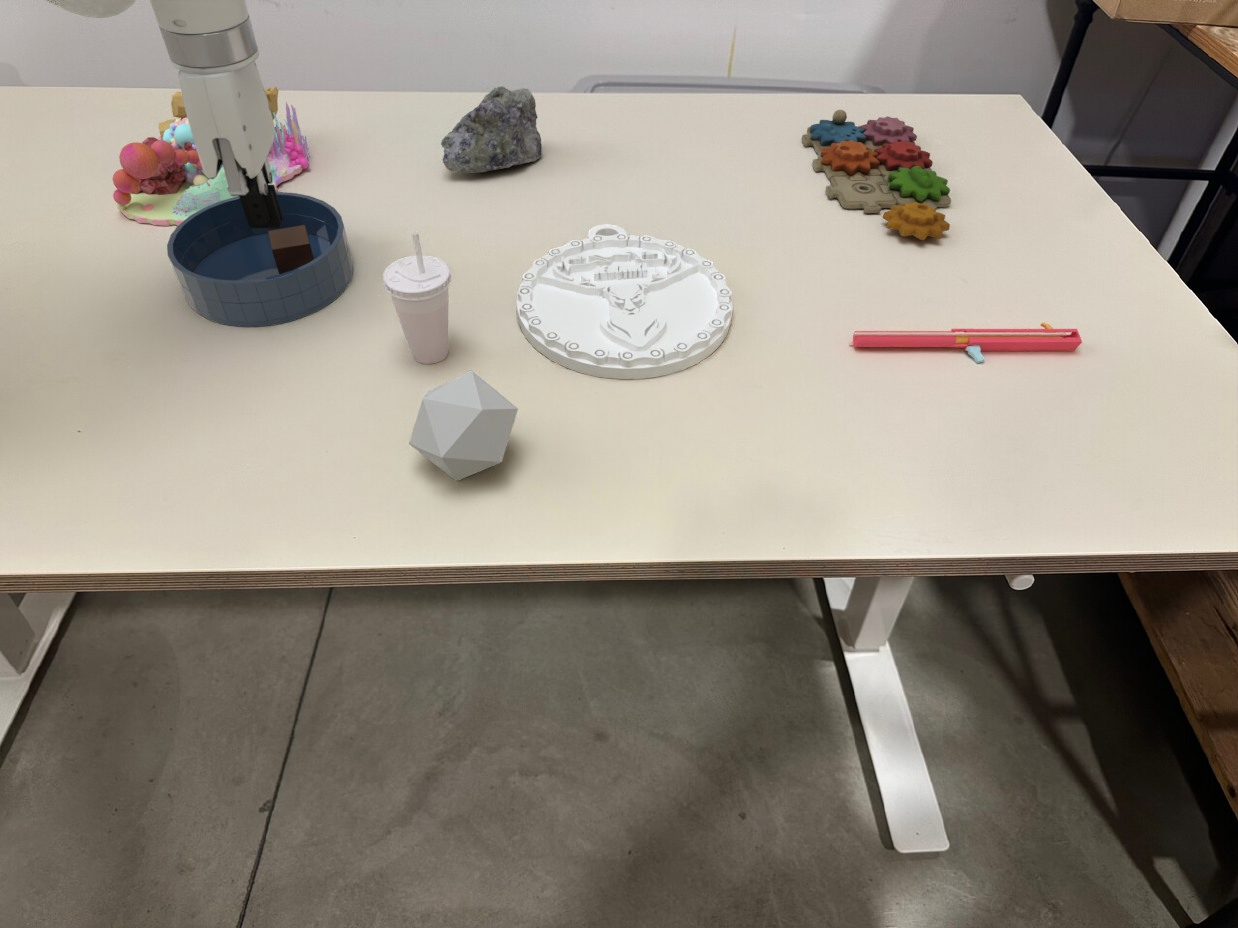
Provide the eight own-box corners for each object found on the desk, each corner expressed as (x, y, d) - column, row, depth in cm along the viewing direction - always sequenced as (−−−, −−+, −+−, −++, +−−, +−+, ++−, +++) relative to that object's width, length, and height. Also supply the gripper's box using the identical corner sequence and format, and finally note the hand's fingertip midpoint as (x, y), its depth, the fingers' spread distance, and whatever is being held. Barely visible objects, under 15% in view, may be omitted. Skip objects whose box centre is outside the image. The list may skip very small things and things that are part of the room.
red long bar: (1077, 367, 91) (1066, 329, 93) (1088, 356, 89) (1076, 318, 91) (852, 367, 90) (846, 329, 92) (858, 356, 88) (852, 318, 90)
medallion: (526, 389, 85) (525, 370, 84) (507, 240, 104) (506, 223, 102) (755, 369, 88) (759, 351, 87) (698, 228, 107) (700, 211, 105)
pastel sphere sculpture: (127, 142, 118) (99, 74, 112) (304, 122, 124) (288, 56, 117) (114, 238, 102) (81, 165, 95) (319, 210, 107) (301, 139, 101)
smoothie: (450, 376, 86) (431, 255, 76) (389, 367, 87) (362, 247, 77) (469, 337, 91) (453, 218, 81) (410, 329, 91) (388, 210, 81)
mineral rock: (444, 183, 113) (433, 107, 106) (449, 144, 120) (439, 71, 113) (542, 181, 114) (539, 106, 106) (541, 143, 121) (538, 70, 114)
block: (281, 281, 96) (271, 249, 93) (277, 261, 98) (267, 231, 96) (318, 274, 97) (309, 243, 94) (313, 255, 100) (304, 224, 97)
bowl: (188, 342, 89) (169, 298, 85) (181, 249, 101) (165, 207, 97) (365, 307, 94) (355, 264, 90) (340, 223, 106) (330, 181, 102)
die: (480, 414, 84) (404, 361, 77) (549, 406, 78) (474, 348, 71) (454, 494, 81) (372, 446, 73) (524, 492, 75) (443, 440, 68)
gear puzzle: (979, 247, 105) (990, 217, 102) (849, 249, 104) (857, 219, 101) (903, 130, 126) (911, 102, 124) (795, 131, 125) (800, 103, 122)
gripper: (190, 10, 82) (246, 188, 95) (141, 76, 71) (211, 265, 85) (271, 10, 82) (315, 187, 96) (233, 75, 72) (289, 263, 85)
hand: (266, 223), depth 90 cm, fingers closed
